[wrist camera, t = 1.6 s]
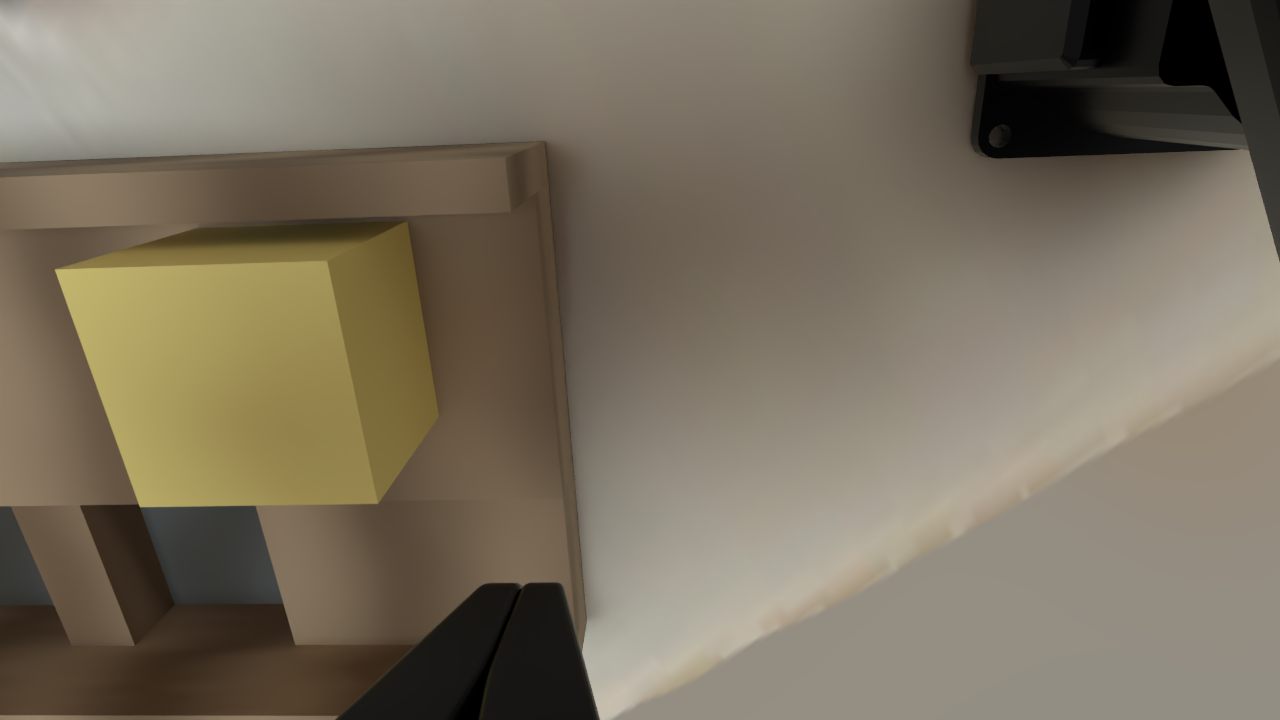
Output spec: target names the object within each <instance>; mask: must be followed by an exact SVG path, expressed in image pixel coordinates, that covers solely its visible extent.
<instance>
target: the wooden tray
mask: <svg viewBox="0 0 1280 720" xmlns="http://www.w3.org/2000/svg"><path fill="white" fill-rule="evenodd" d="M385 221H407V222H408V229H409V235H410V241H411V247H412V253H413V259H414V265H415V272H416V278H417V284H418V290H419V296H420V302H421V308H422V315H423V321H424V327H425V333H426V339H427V345H428V351H429V358H430V364H431V370H432V376H433V382H434V388H435V394H436V401H437V407H438V413H439V417H438V419H437V420H436V422H435V423H434V425H433V426H432V427H431V429H430V430H429V432H428V433H427V435H426V436H425V437H424V439H423V440H422V442H421V443H420V445H419V446H418V447H417V449H416V450H415V452H414V453H413V455H412V456H411V457H410V459H409V460H408V462H407V463H406V465H405V466H404V467H403V469H402V470H401V472H400V473H399V475H398V476H397V477H396V479H395V480H394V482H393V483H392V485H391V486H390V487H389V489H388V490H387V492H386V493H385V495H384V496H383V497H382V499H381V500H380V502H379V503H378V504H337V505H265V506H193V507H140V506H139V503H138V501H137V498H136V495H135V492H134V489H133V487H132V484H131V481H130V478H129V475H128V473H127V470H126V467H125V464H124V461H123V459H122V456H121V453H120V450H119V448H118V445H117V442H116V439H115V436H114V434H113V431H112V428H111V425H110V422H109V420H108V417H107V414H106V411H105V408H104V406H103V403H102V400H101V397H100V395H99V392H98V389H97V386H96V383H95V381H94V378H93V375H92V372H91V369H90V367H89V364H88V361H87V358H86V355H85V353H84V350H83V347H82V344H81V341H80V339H79V336H78V333H77V330H76V328H75V325H74V322H73V319H72V316H71V314H70V311H69V308H68V305H67V302H66V300H65V297H64V294H63V291H62V288H61V286H60V283H59V280H58V277H57V274H56V272H55V269H58V268H62V267H65V266H68V265H72V264H75V263H79V262H82V261H86V260H89V259H92V258H96V257H99V256H103V255H106V254H109V253H113V252H116V251H120V250H123V249H127V248H130V247H133V246H137V245H140V244H144V243H147V242H151V241H154V240H157V239H161V238H164V237H168V236H171V235H175V234H178V233H181V232H185V231H188V230H192V229H195V228H210V227H239V226H268V225H298V224H327V223H356V222H385ZM538 582H558V583H561V584H562V585H563V586H564V589H565V592H566V596H567V600H568V603H569V607H570V611H571V615H572V618H573V622H574V626H575V629H576V633H577V637H578V640H579V644H580V648H581V652H582V649H583V642H584V636H585V629H586V622H587V621H586V610H585V598H584V587H583V575H582V563H581V552H580V540H579V529H578V517H577V506H576V494H575V482H574V471H573V459H572V448H571V436H570V424H569V413H568V401H567V390H566V378H565V366H564V355H563V343H562V332H561V320H560V308H559V297H558V285H557V274H556V262H555V251H554V239H553V227H552V216H551V204H550V193H549V181H548V169H547V158H546V146H545V141H542V142H517V143H491V144H466V145H441V146H416V147H391V148H365V149H340V150H315V151H290V152H264V153H239V154H214V155H189V156H164V157H138V158H113V159H88V160H63V161H37V162H12V163H0V720H335V719H336V718H337V717H338V716H339V715H340V714H341V713H343V712H344V711H345V710H346V709H347V708H348V707H349V706H350V705H351V704H352V703H353V702H355V701H356V700H357V699H358V698H359V697H360V696H361V695H362V694H363V693H364V692H365V691H366V690H368V689H369V688H370V687H371V686H372V685H373V684H374V683H375V682H376V681H377V680H378V679H379V678H381V677H382V676H383V675H384V674H385V673H386V672H387V671H388V670H389V669H390V668H391V667H392V666H394V665H395V664H396V663H397V662H398V661H399V660H400V659H401V658H402V657H403V656H404V655H406V654H407V653H408V652H409V651H410V650H411V649H412V648H413V647H414V646H415V645H416V644H417V643H419V642H420V641H421V640H422V639H423V638H424V637H425V636H426V635H427V634H428V633H429V632H430V631H432V630H433V629H434V628H435V627H436V626H437V625H438V624H439V623H440V622H441V621H442V620H444V619H445V618H446V617H447V616H448V615H449V614H450V613H451V612H452V611H453V610H454V609H455V608H457V607H458V606H459V605H460V604H461V603H462V602H463V601H464V600H465V599H466V598H467V597H468V596H470V595H471V594H472V593H473V592H474V591H475V590H476V589H477V588H478V587H480V586H481V585H483V584H486V583H519V584H520V585H521V586H522V587H523V586H524V585H526V584H527V583H538Z"/></svg>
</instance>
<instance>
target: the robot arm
mask: <svg viewBox="0 0 1280 720" xmlns="http://www.w3.org/2000/svg"><path fill="white" fill-rule="evenodd" d="M971 65H972V67H973V68H974V69H975V71H976V72H977V73H978V74H979V79H978V86H977V94H976V102H975V110H974V117H973V125H972V133H971V142H972V146H973V148H974V150H975V151H976V152H977V153H979V154H980V155H981V156H986V157H991V158H1024V157H1051V156H1078V155H1105V154H1132V153H1159V152H1185V151H1212V150H1239V149H1243V150H1249V151H1250V155H1251V159H1252V162H1253V166H1254V170H1255V173H1256V177H1257V181H1258V184H1259V188H1260V192H1261V195H1262V199H1263V203H1264V206H1265V210H1266V214H1267V217H1268V221H1269V224H1270V228H1271V232H1272V235H1273V239H1274V243H1275V246H1276V250H1277V254H1278V257H1279V261H1280V0H978V5H977V13H976V21H975V29H974V37H973V45H972V53H971ZM998 125H1000V126H1001V127H1002V128H1003V133H1004V135H1003V138H1002V140H1001V141H1000V142H999V143H998V144H997V145H995V146H992V145H991V144H990V143H989V135H990V132H991V130H992V129H993V128H995V127H996V126H998ZM335 720H600V718H599V715H598V711H597V707H596V704H595V700H594V696H593V692H592V689H591V685H590V681H589V678H588V674H587V670H586V666H585V663H584V659H583V655H582V652H581V648H580V644H579V640H578V637H577V633H576V629H575V626H574V622H573V618H572V615H571V611H570V607H569V603H568V600H567V596H566V592H565V589H564V586H563V585H562V584H561V583H558V582H538V583H527V584H526V585H524V586H523V587H522V586H521V585H520V584H519V583H486V584H483V585H481V586H480V587H478V588H477V589H476V590H475V591H474V592H473V593H472V594H471V595H470V596H468V597H467V598H466V599H465V600H464V601H463V602H462V603H461V604H460V605H459V606H458V607H457V608H455V609H454V610H453V611H452V612H451V613H450V614H449V615H448V616H447V617H446V618H445V619H444V620H442V621H441V622H440V623H439V624H438V625H437V626H436V627H435V628H434V629H433V630H432V631H430V632H429V633H428V634H427V635H426V636H425V637H424V638H423V639H422V640H421V641H420V642H419V643H417V644H416V645H415V646H414V647H413V648H412V649H411V650H410V651H409V652H408V653H407V654H406V655H404V656H403V657H402V658H401V659H400V660H399V661H398V662H397V663H396V664H395V665H394V666H392V667H391V668H390V669H389V670H388V671H387V672H386V673H385V674H384V675H383V676H382V677H381V678H379V679H378V680H377V681H376V682H375V683H374V684H373V685H372V686H371V687H370V688H369V689H368V690H366V691H365V692H364V693H363V694H362V695H361V696H360V697H359V698H358V699H357V700H356V701H355V702H353V703H352V704H351V705H350V706H349V707H348V708H347V709H346V710H345V711H344V712H343V713H341V714H340V715H339V716H338V717H337V718H336V719H335Z"/></svg>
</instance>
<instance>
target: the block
mask: <svg viewBox="0 0 1280 720" xmlns="http://www.w3.org/2000/svg"><path fill="white" fill-rule="evenodd" d="M55 272H56V274H57V277H58V280H59V283H60V286H61V288H62V291H63V294H64V297H65V300H66V302H67V305H68V308H69V311H70V314H71V316H72V319H73V322H74V325H75V328H76V330H77V333H78V336H79V339H80V341H81V344H82V347H83V350H84V353H85V355H86V358H87V361H88V364H89V367H90V369H91V372H92V375H93V378H94V381H95V383H96V386H97V389H98V392H99V395H100V397H101V400H102V403H103V406H104V408H105V411H106V414H107V417H108V420H109V422H110V425H111V428H112V431H113V434H114V436H115V439H116V442H117V445H118V448H119V450H120V453H121V456H122V459H123V461H124V464H125V467H126V470H127V473H128V475H129V478H130V481H131V484H132V487H133V489H134V492H135V495H136V498H137V501H138V503H139V506H140V507H193V506H265V505H337V504H378V503H379V502H380V500H381V499H382V497H383V496H384V495H385V493H386V492H387V490H388V489H389V487H390V486H391V485H392V483H393V482H394V480H395V479H396V477H397V476H398V475H399V473H400V472H401V470H402V469H403V467H404V466H405V465H406V463H407V462H408V460H409V459H410V457H411V456H412V455H413V453H414V452H415V450H416V449H417V447H418V446H419V445H420V443H421V442H422V440H423V439H424V437H425V436H426V435H427V433H428V432H429V430H430V429H431V427H432V426H433V425H434V423H435V422H436V420H437V419H438V417H439V413H438V407H437V401H436V394H435V388H434V382H433V376H432V370H431V364H430V358H429V351H428V345H427V339H426V333H425V327H424V321H423V315H422V308H421V302H420V296H419V290H418V284H417V278H416V272H415V265H414V259H413V253H412V247H411V241H410V235H409V229H408V222H407V221H385V222H356V223H327V224H298V225H268V226H239V227H210V228H195V229H192V230H188V231H185V232H181V233H178V234H175V235H171V236H168V237H164V238H161V239H157V240H154V241H151V242H147V243H144V244H140V245H137V246H133V247H130V248H127V249H123V250H120V251H116V252H113V253H109V254H106V255H103V256H99V257H96V258H92V259H89V260H86V261H82V262H79V263H75V264H72V265H68V266H65V267H62V268H58V269H55Z"/></svg>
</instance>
